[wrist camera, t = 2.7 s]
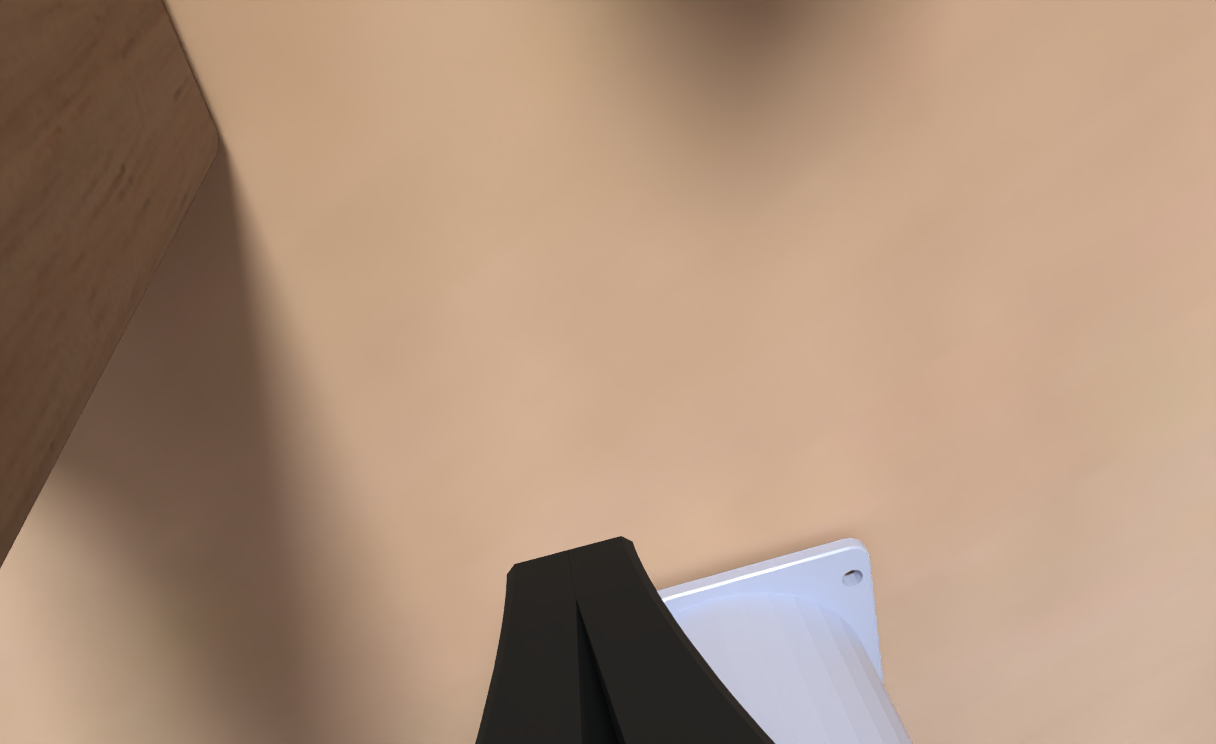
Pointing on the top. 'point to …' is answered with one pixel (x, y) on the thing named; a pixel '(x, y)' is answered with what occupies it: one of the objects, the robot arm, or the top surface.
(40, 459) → the wooden block
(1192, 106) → the top surface
